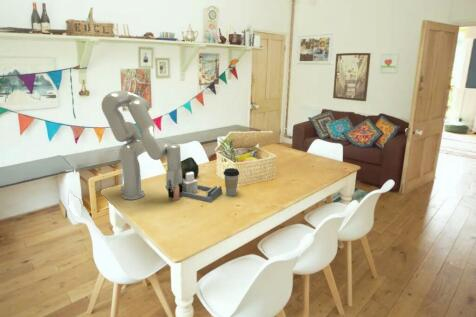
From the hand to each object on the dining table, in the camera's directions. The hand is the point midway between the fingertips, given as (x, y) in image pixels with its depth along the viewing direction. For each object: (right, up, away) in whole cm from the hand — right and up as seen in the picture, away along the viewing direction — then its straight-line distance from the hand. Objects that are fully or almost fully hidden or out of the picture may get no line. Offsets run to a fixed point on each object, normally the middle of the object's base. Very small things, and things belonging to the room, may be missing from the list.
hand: (175, 194), depth 184 cm
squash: (+2, +8, +34) cm, 35 cm away
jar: (-1, -2, +1) cm, 3 cm away
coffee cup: (+32, -1, +9) cm, 33 cm away
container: (+6, 0, +10) cm, 12 cm away
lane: (+12, 0, +8) cm, 14 cm away
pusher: (+20, -2, +4) cm, 21 cm away
